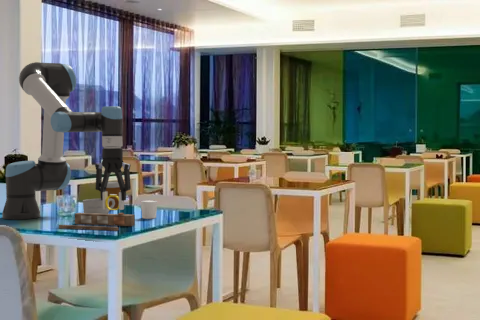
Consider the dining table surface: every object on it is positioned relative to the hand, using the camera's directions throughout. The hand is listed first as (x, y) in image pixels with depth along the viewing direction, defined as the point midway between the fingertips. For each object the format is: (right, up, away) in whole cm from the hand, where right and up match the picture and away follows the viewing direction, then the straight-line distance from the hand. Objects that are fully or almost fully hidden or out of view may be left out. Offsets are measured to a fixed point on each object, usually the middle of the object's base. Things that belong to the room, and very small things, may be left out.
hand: (113, 209), depth 267 cm
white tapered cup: (+10, -6, +28) cm, 30 cm away
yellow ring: (0, 0, 0) cm, 0 cm away
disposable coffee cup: (-12, -4, +61) cm, 62 cm away
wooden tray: (-7, -7, +3) cm, 10 cm away
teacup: (-11, -6, +29) cm, 31 cm away
